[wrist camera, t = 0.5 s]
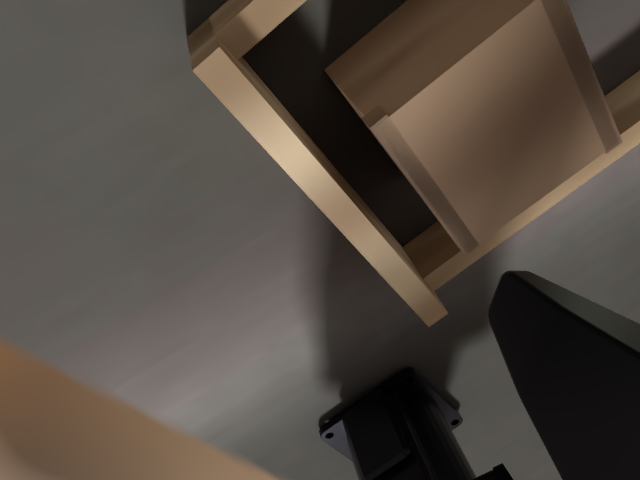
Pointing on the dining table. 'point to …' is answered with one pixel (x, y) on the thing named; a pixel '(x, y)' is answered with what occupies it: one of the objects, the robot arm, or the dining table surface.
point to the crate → (479, 105)
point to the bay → (330, 186)
